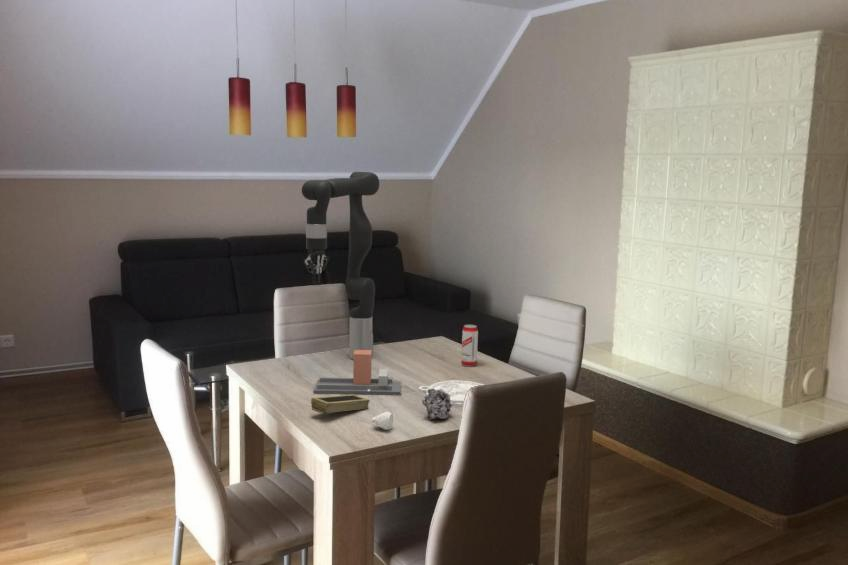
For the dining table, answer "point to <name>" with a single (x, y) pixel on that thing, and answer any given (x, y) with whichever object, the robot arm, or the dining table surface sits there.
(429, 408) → the mineral specimen
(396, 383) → the grey slide track
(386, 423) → the white seashell
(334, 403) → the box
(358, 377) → the salmon rectangular block
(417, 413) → the dining table surface
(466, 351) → the beer can
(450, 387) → the medallion
